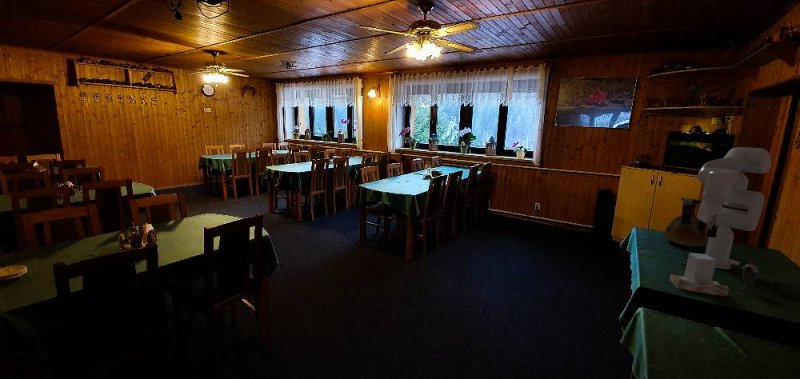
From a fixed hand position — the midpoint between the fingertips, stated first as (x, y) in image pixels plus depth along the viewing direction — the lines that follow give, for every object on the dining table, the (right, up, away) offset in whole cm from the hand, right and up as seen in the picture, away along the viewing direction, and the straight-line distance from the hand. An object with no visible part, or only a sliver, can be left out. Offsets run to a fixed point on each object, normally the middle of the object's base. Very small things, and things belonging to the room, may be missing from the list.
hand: (705, 233), depth 159 cm
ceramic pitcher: (+36, -14, +56) cm, 68 cm away
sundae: (+18, -26, -1) cm, 32 cm away
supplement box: (-4, -23, +1) cm, 23 cm away
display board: (-4, -25, 0) cm, 26 cm away
